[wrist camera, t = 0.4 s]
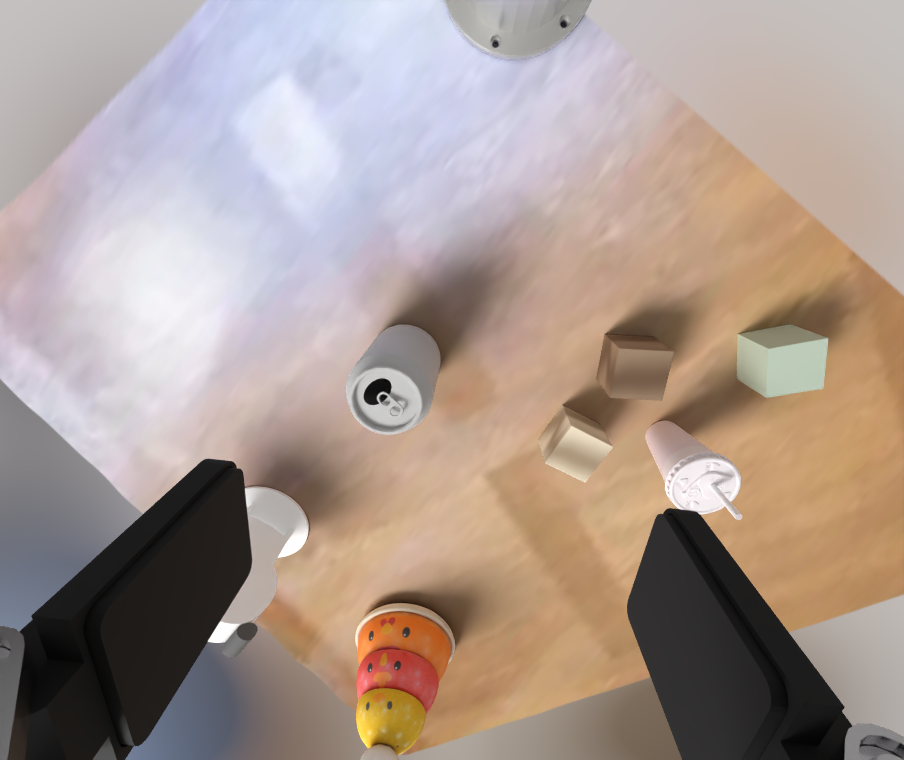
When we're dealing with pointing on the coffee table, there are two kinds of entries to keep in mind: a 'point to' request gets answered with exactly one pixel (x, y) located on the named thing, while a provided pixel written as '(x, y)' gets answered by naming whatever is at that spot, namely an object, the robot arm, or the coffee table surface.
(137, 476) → the coffee table surface
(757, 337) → the sage painted cube
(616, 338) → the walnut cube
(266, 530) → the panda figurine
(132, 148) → the coffee table surface
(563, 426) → the maple cube
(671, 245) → the coffee table surface
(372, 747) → the stacking toy
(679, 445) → the smoothie
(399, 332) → the can
